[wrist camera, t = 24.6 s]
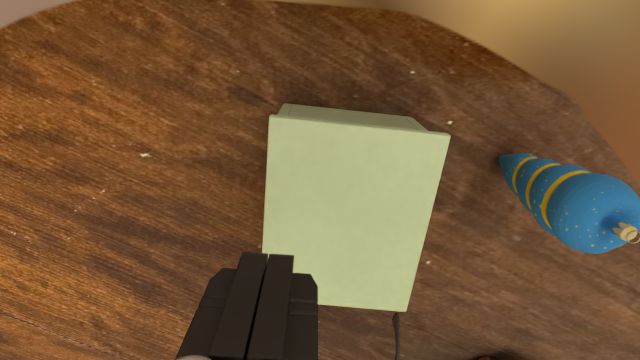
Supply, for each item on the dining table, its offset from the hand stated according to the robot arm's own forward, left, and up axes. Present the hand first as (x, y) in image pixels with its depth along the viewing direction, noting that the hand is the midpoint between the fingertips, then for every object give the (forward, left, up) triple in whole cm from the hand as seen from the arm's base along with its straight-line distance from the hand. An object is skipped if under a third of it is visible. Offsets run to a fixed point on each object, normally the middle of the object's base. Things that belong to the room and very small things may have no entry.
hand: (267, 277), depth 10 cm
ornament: (+2, +19, -23) cm, 30 cm away
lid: (+5, +4, -14) cm, 15 cm away
